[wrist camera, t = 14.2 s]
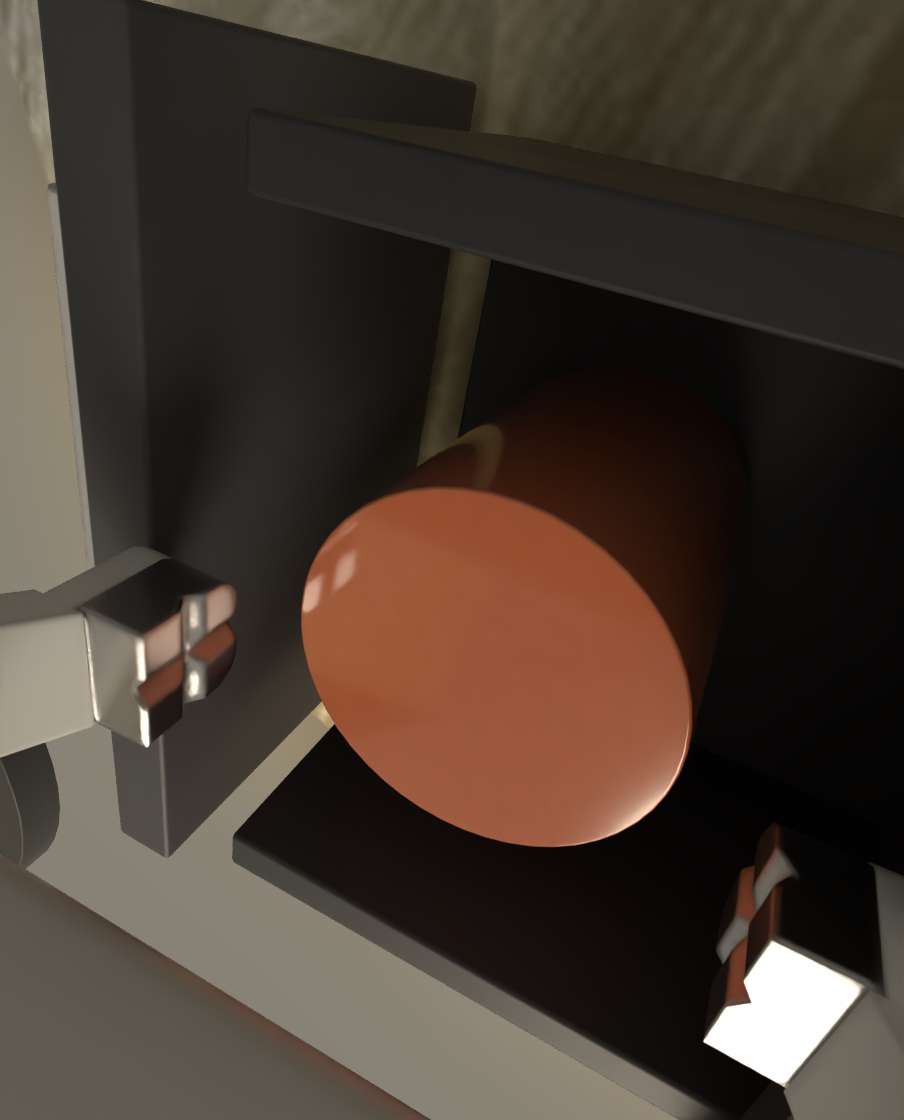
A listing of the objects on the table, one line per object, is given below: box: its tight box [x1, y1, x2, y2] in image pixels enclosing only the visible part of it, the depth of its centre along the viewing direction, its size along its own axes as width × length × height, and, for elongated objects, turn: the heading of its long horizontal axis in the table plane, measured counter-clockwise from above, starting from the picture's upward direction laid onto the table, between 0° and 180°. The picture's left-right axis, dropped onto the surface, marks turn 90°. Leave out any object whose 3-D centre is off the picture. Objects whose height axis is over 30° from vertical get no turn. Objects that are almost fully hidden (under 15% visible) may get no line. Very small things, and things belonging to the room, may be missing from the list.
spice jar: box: [301, 364, 750, 847], centre depth 13 cm, size 6×6×7 cm
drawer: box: [38, 0, 904, 1120], centre depth 13 cm, size 19×13×9 cm
